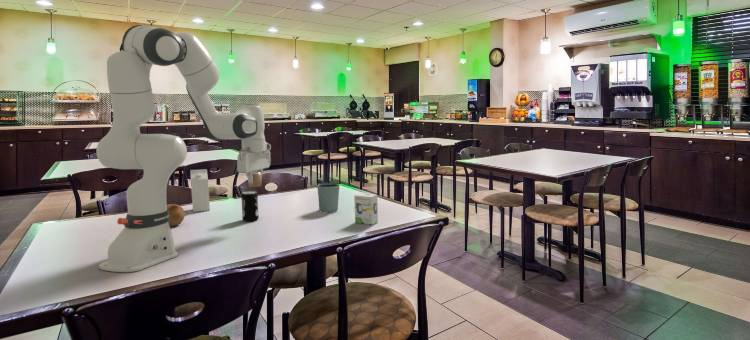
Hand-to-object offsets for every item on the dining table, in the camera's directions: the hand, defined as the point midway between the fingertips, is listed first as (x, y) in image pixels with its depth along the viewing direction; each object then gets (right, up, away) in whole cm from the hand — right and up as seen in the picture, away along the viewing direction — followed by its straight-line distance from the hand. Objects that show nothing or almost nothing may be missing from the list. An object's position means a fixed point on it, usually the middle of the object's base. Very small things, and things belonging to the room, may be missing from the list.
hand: (255, 181), depth 167 cm
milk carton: (-34, -14, +32) cm, 49 cm away
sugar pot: (0, -2, 0) cm, 2 cm away
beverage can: (-6, -17, +13) cm, 22 cm away
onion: (-35, -18, +6) cm, 40 cm away
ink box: (+43, -17, +8) cm, 48 cm away
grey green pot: (+26, -14, +29) cm, 42 cm away
